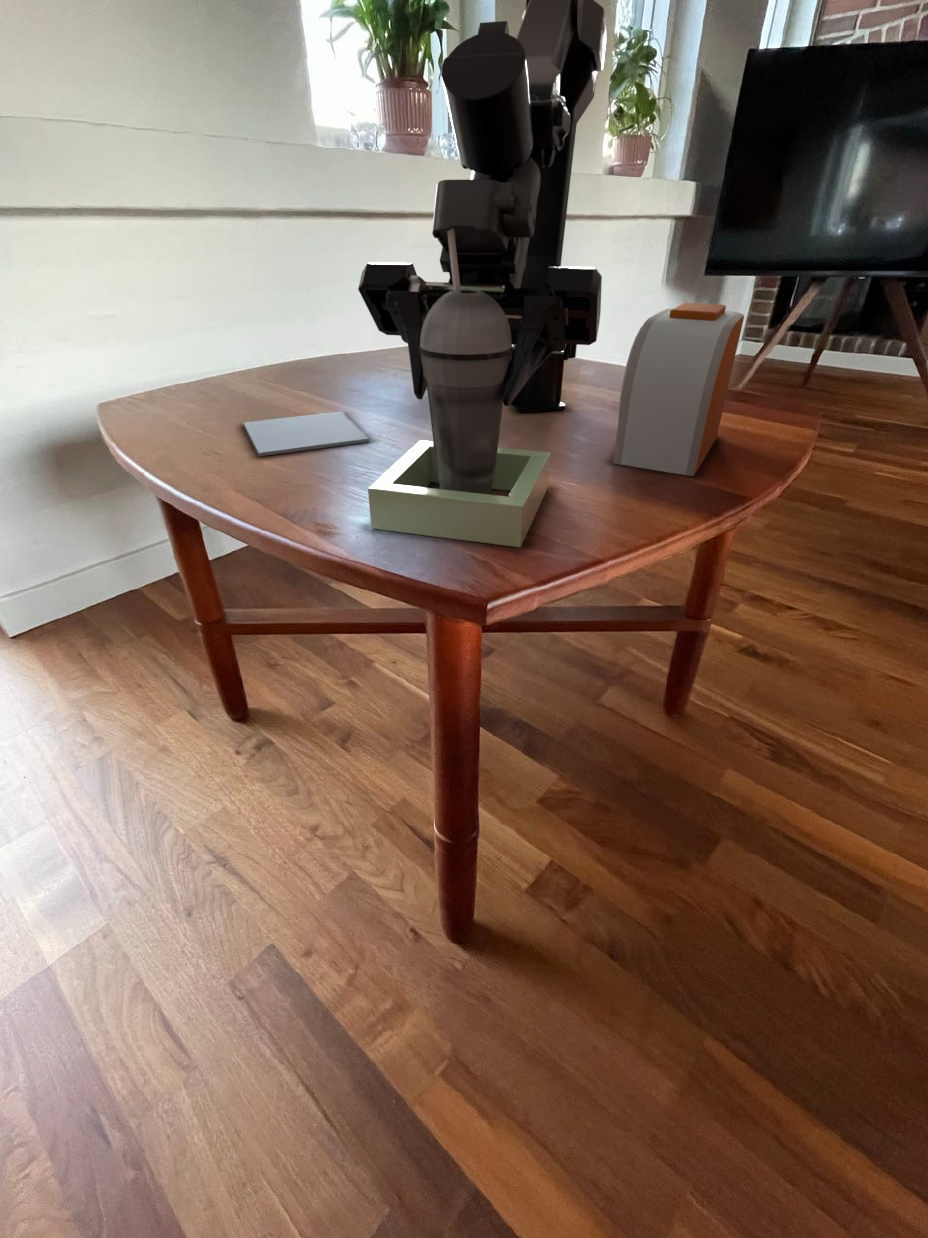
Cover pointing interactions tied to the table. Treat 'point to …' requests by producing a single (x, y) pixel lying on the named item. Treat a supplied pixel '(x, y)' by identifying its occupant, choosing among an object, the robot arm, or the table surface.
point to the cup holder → (460, 498)
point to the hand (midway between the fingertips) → (460, 399)
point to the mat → (303, 433)
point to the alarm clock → (676, 387)
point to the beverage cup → (465, 382)
